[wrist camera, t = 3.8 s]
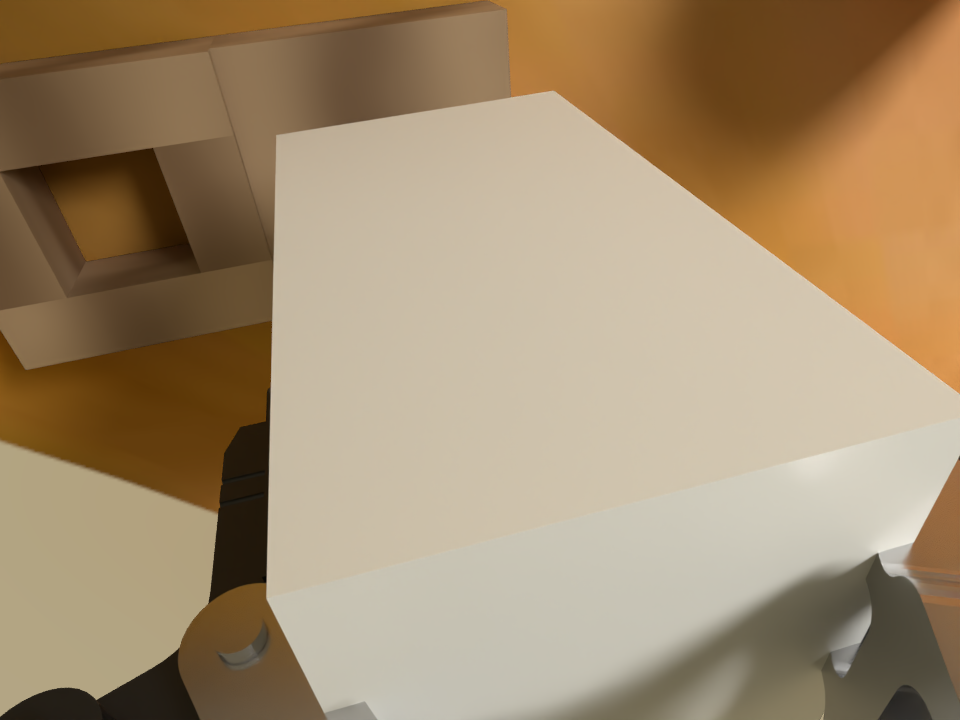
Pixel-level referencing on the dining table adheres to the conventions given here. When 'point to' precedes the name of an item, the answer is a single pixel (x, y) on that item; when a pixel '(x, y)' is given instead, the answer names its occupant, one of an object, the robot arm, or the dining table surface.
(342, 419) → the block
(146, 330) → the board
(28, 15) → the dining table surface
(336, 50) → the board
